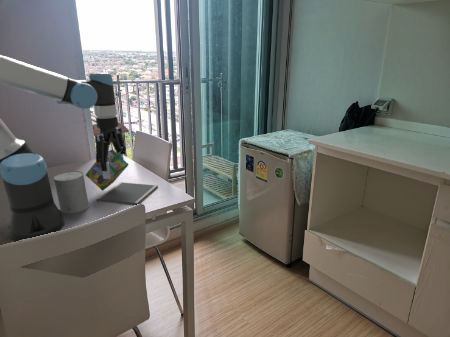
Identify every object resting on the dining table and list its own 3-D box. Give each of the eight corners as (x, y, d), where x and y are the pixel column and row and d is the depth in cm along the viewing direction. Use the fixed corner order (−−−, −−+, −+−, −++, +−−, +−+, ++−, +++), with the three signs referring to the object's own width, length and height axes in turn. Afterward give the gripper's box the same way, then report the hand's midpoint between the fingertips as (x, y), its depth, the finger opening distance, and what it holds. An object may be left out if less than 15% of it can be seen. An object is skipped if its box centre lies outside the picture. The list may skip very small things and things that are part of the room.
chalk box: (102, 191, 125) (123, 167, 119) (84, 174, 124) (104, 150, 118) (114, 182, 133) (134, 159, 127) (98, 166, 132) (117, 142, 126)
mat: (137, 205, 118) (137, 202, 118) (96, 200, 122) (96, 198, 122) (157, 187, 134) (157, 185, 133) (120, 184, 138) (120, 182, 137)
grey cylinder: (54, 211, 115) (47, 178, 111) (74, 200, 123) (69, 169, 119) (74, 215, 111) (68, 182, 107) (94, 203, 120) (89, 172, 116)
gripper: (114, 111, 130) (121, 164, 137) (78, 122, 110) (88, 183, 117) (130, 111, 128) (137, 165, 135) (97, 122, 108) (106, 185, 115)
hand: (114, 174), depth 126 cm, fingers closed on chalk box, 9 cm apart
